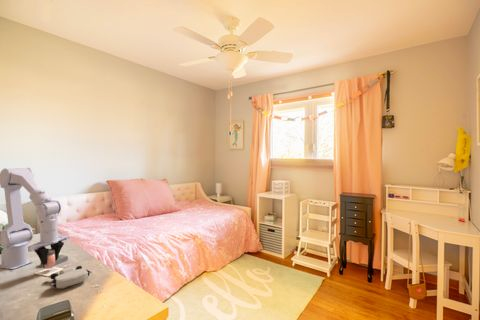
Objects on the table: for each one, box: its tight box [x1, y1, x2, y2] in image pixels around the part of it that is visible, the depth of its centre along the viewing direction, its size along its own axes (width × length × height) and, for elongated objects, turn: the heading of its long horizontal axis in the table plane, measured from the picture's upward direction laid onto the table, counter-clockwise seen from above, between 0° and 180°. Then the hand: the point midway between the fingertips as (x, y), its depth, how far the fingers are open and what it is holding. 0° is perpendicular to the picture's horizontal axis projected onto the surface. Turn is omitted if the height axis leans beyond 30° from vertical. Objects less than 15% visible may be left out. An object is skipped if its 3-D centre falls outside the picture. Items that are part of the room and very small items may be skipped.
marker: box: [43, 248, 56, 269], centre depth 98 cm, size 4×4×7 cm
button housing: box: [40, 254, 69, 266], centre depth 106 cm, size 7×7×2 cm
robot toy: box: [48, 265, 93, 289], centre depth 89 cm, size 12×4×15 cm
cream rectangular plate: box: [34, 266, 64, 278], centre depth 98 cm, size 8×6×1 cm
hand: (49, 262), depth 98 cm, fingers closed on marker, 4 cm apart
